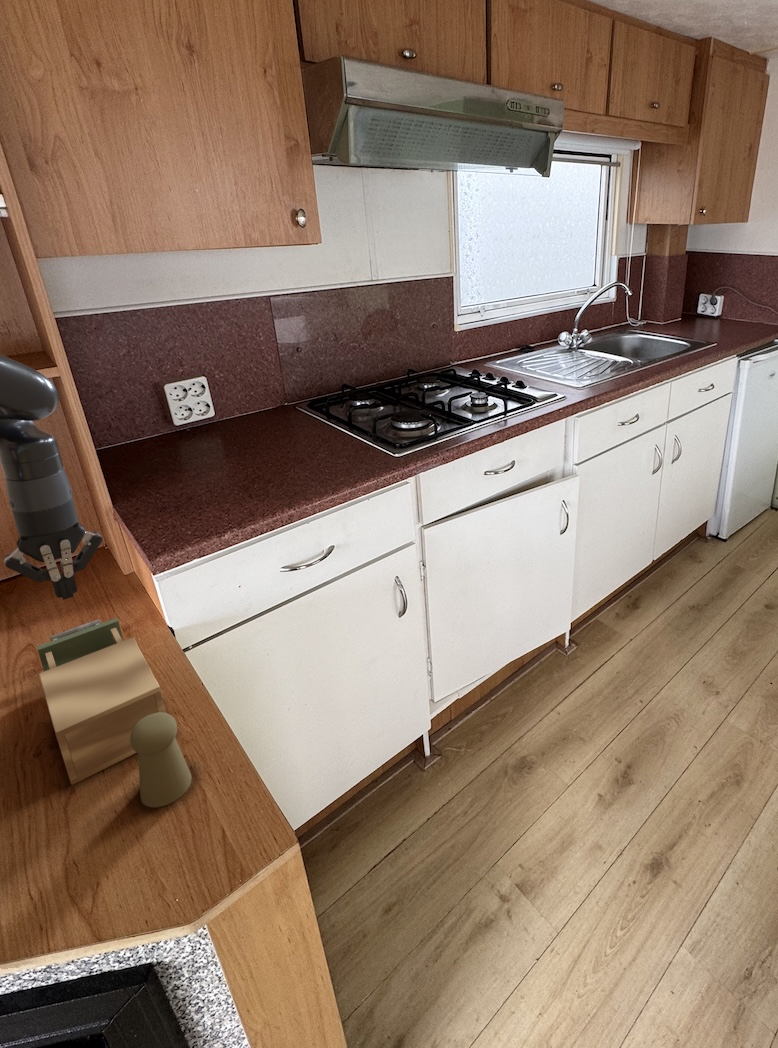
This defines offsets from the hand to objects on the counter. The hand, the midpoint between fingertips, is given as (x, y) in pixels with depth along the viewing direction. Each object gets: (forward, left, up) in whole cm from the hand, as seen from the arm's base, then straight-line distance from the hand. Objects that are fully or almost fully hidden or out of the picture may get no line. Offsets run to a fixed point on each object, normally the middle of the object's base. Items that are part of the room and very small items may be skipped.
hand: (67, 596), depth 94 cm
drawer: (+5, -4, -13) cm, 14 cm away
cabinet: (+15, -11, -14) cm, 23 cm away
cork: (+29, -19, -14) cm, 37 cm away
